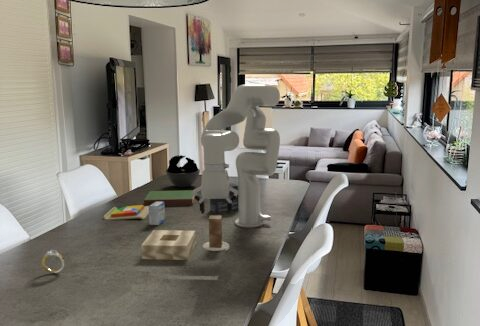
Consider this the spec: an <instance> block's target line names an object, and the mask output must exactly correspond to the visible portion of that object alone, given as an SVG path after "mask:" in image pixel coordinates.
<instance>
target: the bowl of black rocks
mask: <svg viewBox="0 0 480 326" xmlns="http://www.w3.org/2000/svg"><path fill="white" fill-rule="evenodd" d="M184 158H185V160H186V161H187V162H186V163H184V164H183V165H182V166H178V164H179V162H180V161H181V160H182V159H184ZM168 164H169V166H168V167H167V169H166V171H165V174H166V177H167V179H168V181H169V182H170V183H171V184H173V185H174V186H176V187H180V188H186V187H190V186H193V184H195V183H196V181H198V179H199V177H200V173H201V170H200V168H198V165H197V163H196V162H195V160H194V159H192V158H190V157H188V156H187V157H186V155H182V154H181V155H179V154H178V155H174V156H172V157H171V158H170V159H169V160H168Z"/></svg>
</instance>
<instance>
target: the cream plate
mask: <svg viewBox="0 0 480 326" xmlns="http://www.w3.org/2000/svg"><path fill="white" fill-rule="evenodd" d="M202 248H203V250H206V251H211V252H212V251H213V252H216V251H217V252H219V251H223V250H224V252H228V250H230V244H229V243H228V242H226V241H223V240H222V247H221V248H209V241H207V242H205V243H203V244H202Z"/></svg>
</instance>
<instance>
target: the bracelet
mask: <svg viewBox="0 0 480 326" xmlns="http://www.w3.org/2000/svg"><path fill="white" fill-rule="evenodd" d="M50 256H56V257H58V258H59V259H60V262H61V266H60V268H59V269H57V270H56V269H53V270H52V269H50V268H49V267H48V266H47V264H46V259H47V258H49V257H50ZM65 262H66V260H65V257H64V255H62V254H61V253H60V252H58V250H55V249H50V250H48V251H46V254H44V256H43V257H42V259H41V264H42V267H43V268H44V270H45V271H46V272H48V273H50V274H53V273H55V274H57V273H60V272H61V271H62V270H63V269H64V268H65V264H66V263H65Z"/></svg>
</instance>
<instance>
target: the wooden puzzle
mask: <svg viewBox="0 0 480 326" xmlns="http://www.w3.org/2000/svg"><path fill="white" fill-rule="evenodd" d="M147 216H149V206H144V204H138V205H130V206H129V205H128V206H127V205H126V206H118V207H117V206H114V207H112V208H111V209H110V210H109V211H108V212H106V213H105V214H104V215H103V220H105V221H113V220H114V221H115V220H116V221H119V220H131V219H132V220H133V219H141V220H145V219H146V218H147Z"/></svg>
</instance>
